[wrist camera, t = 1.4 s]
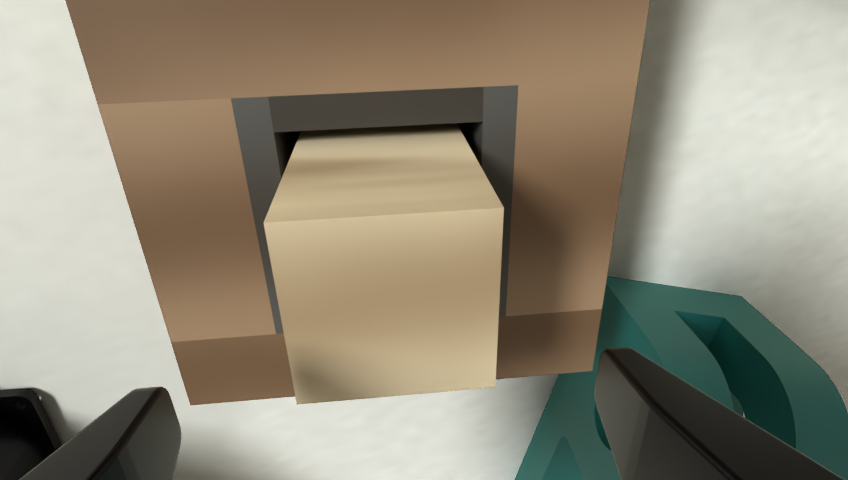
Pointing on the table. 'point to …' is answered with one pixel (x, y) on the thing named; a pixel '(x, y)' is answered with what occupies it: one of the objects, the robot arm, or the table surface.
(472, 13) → the band block
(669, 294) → the bracket
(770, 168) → the table surface
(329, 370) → the peg
